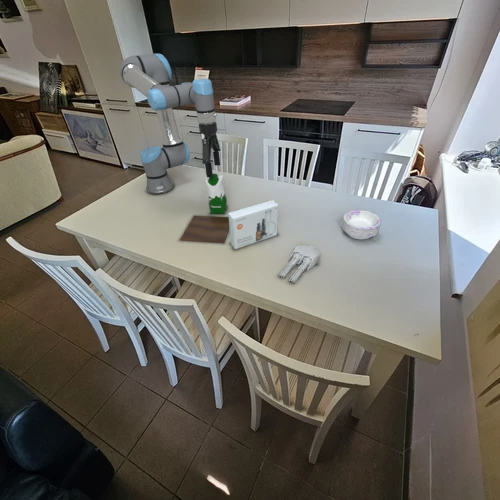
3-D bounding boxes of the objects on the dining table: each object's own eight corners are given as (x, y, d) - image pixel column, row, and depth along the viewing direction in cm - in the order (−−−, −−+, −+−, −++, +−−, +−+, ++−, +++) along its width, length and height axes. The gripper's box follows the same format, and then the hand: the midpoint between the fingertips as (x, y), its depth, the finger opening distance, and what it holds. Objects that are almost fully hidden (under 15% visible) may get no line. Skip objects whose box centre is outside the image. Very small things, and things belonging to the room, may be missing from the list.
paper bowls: (351, 220, 131) (354, 205, 126) (382, 232, 122) (387, 217, 117) (333, 234, 123) (336, 219, 118) (365, 248, 114) (370, 233, 109)
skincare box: (235, 250, 117) (232, 218, 107) (230, 243, 121) (226, 212, 111) (278, 235, 124) (279, 204, 114) (271, 229, 128) (272, 198, 118)
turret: (275, 278, 107) (274, 270, 103) (302, 245, 116) (302, 237, 113) (297, 289, 101) (297, 281, 98) (324, 255, 111) (325, 246, 108)
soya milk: (208, 214, 140) (202, 177, 128) (212, 205, 147) (206, 169, 135) (225, 215, 139) (221, 177, 127) (228, 205, 146) (224, 169, 134)
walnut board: (194, 216, 140) (194, 215, 139) (233, 218, 137) (233, 217, 136) (180, 240, 124) (180, 239, 124) (223, 243, 121) (223, 242, 121)
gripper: (207, 131, 106) (214, 182, 120) (222, 114, 125) (227, 160, 139) (189, 131, 107) (198, 182, 121) (206, 114, 127) (213, 160, 140)
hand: (213, 170), depth 130 cm, fingers open, 13 cm apart
